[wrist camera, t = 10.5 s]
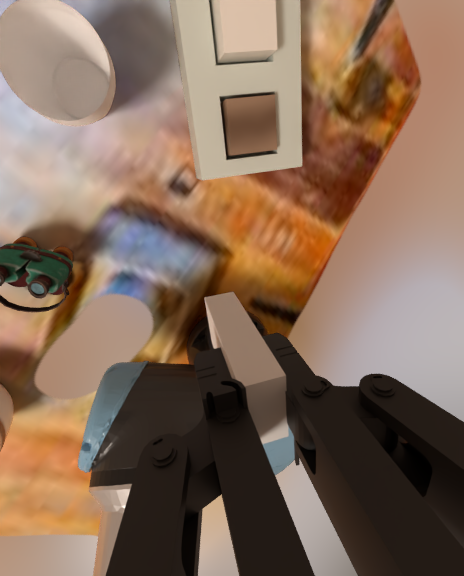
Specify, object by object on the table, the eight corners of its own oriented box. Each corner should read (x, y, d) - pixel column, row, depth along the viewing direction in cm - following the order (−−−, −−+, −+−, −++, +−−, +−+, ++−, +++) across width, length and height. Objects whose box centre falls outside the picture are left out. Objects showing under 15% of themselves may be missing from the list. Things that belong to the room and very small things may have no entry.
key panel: (287, 165, 46) (302, 166, 41) (196, 178, 43) (202, 180, 39) (277, -142, 32) (298, -189, 28) (146, -149, 30) (146, -202, 26)
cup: (88, 27, 34) (60, -32, 23) (138, 108, 38) (133, 89, 27) (21, 70, 34) (-37, 30, 23) (78, 147, 38) (51, 143, 27)
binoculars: (-38, 333, 34) (-35, 255, 30) (3, 289, 43) (10, 225, 39) (49, 346, 37) (62, 277, 34) (71, 303, 46) (83, 244, 43)
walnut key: (266, 150, 42) (277, 149, 38) (224, 155, 41) (232, 155, 37) (263, 100, 39) (274, 94, 36) (219, 104, 38) (226, 99, 35)
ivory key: (265, 60, 36) (277, 49, 33) (217, 63, 35) (224, 53, 32) (261, -5, 34) (274, -24, 30) (209, -3, 33) (217, -23, 29)
